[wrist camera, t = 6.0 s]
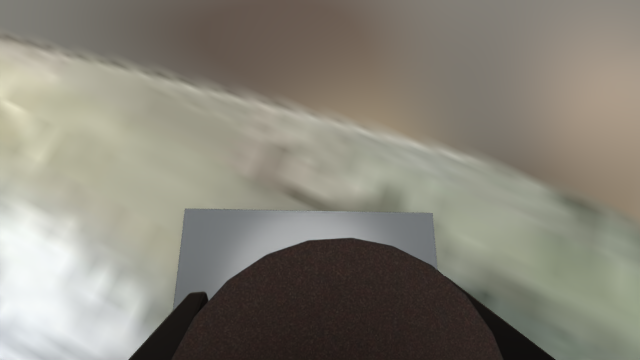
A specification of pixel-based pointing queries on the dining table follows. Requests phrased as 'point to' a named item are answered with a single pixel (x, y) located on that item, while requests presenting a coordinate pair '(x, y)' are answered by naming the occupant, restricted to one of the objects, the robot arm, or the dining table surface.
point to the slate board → (283, 239)
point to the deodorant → (338, 309)
